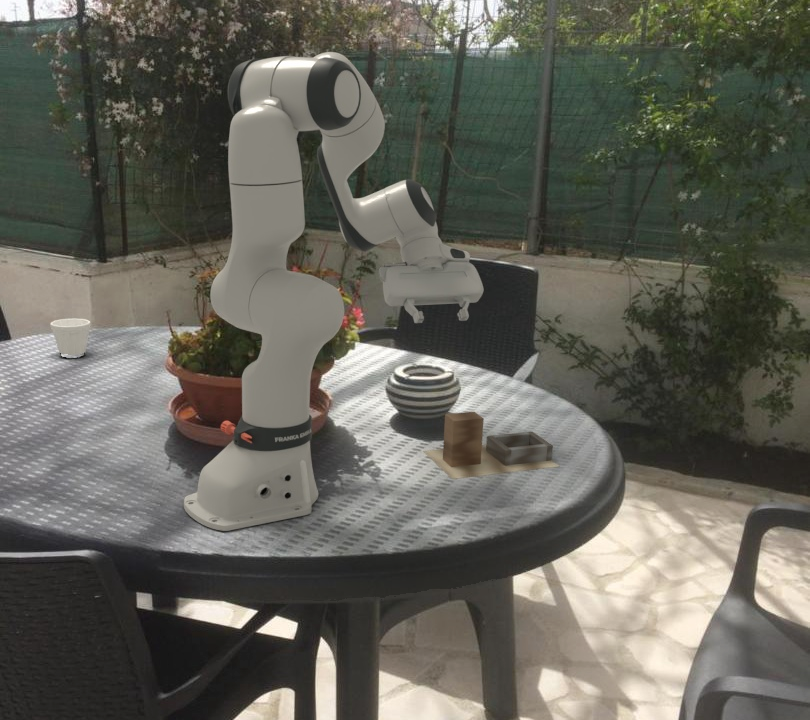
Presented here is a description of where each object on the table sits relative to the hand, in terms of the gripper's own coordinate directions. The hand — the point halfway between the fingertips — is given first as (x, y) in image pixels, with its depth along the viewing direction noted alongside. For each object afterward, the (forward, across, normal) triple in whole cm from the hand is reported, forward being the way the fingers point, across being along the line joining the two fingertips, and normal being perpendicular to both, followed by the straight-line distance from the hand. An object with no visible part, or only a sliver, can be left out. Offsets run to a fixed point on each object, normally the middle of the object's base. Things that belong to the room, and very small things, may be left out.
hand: (442, 320), depth 161 cm
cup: (-44, -69, +80) cm, 115 cm away
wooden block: (+26, 0, +8) cm, 27 cm away
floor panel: (+27, +6, +10) cm, 29 cm away
